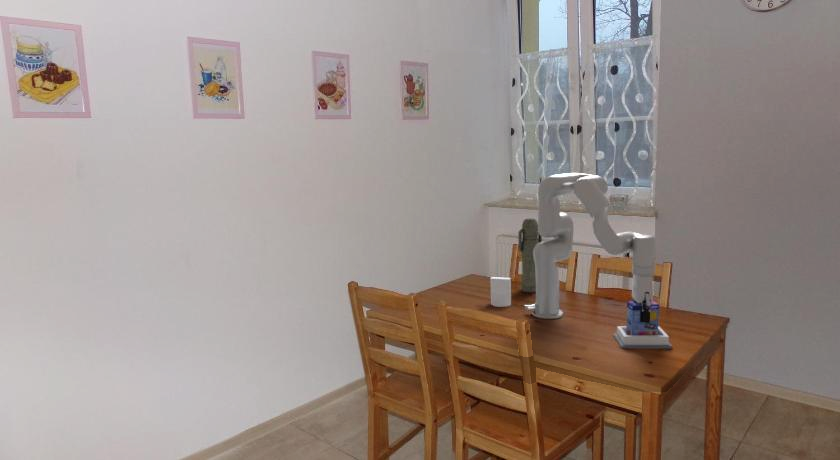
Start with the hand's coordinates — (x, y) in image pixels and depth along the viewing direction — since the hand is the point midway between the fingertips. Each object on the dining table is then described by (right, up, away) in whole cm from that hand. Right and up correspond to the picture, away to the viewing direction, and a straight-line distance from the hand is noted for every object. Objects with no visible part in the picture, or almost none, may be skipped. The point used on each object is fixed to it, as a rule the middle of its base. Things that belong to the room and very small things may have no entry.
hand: (642, 318), depth 203 cm
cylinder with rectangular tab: (-43, -2, +54) cm, 69 cm away
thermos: (-25, +2, +75) cm, 79 cm away
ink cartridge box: (0, -6, +1) cm, 6 cm away
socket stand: (0, -9, +1) cm, 9 cm away
